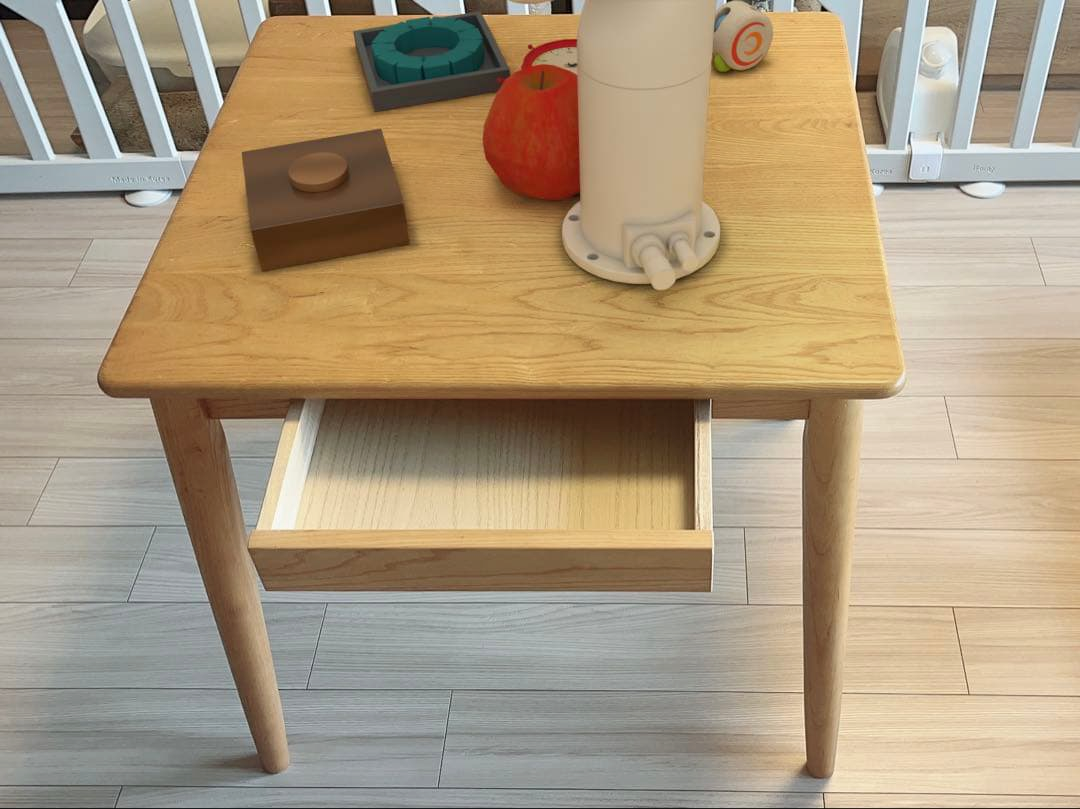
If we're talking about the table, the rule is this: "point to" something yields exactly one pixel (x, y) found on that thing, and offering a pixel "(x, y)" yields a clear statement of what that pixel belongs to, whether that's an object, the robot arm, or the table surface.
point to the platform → (323, 199)
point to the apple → (536, 133)
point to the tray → (434, 88)
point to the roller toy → (740, 36)
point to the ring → (426, 34)
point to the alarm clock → (552, 55)
